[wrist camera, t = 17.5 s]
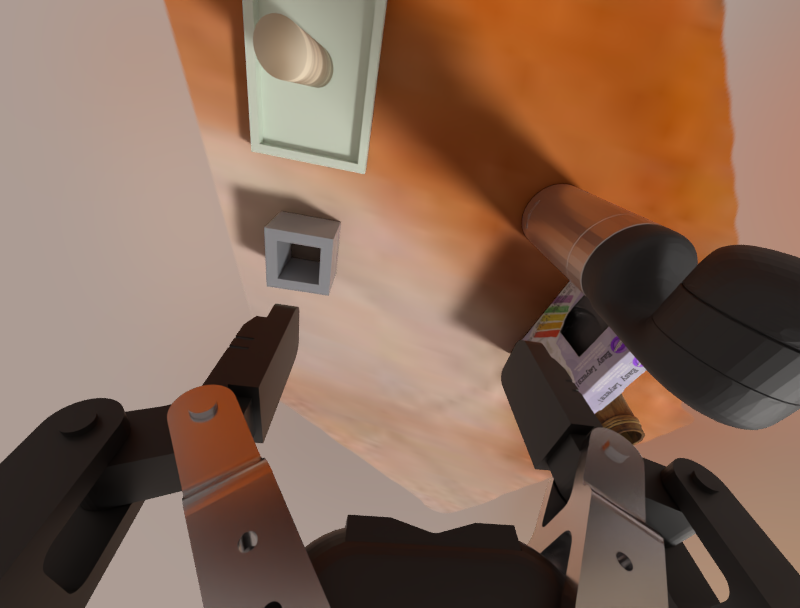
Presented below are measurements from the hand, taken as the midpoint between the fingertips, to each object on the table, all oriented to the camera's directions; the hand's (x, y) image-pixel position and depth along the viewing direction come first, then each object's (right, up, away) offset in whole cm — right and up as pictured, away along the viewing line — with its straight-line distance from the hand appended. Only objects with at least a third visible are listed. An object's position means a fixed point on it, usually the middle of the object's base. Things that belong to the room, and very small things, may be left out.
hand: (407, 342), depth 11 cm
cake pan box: (+27, -1, +45) cm, 52 cm away
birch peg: (-10, +28, +23) cm, 38 cm away
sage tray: (-10, +29, +24) cm, 39 cm away
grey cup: (-14, +11, +36) cm, 40 cm away
